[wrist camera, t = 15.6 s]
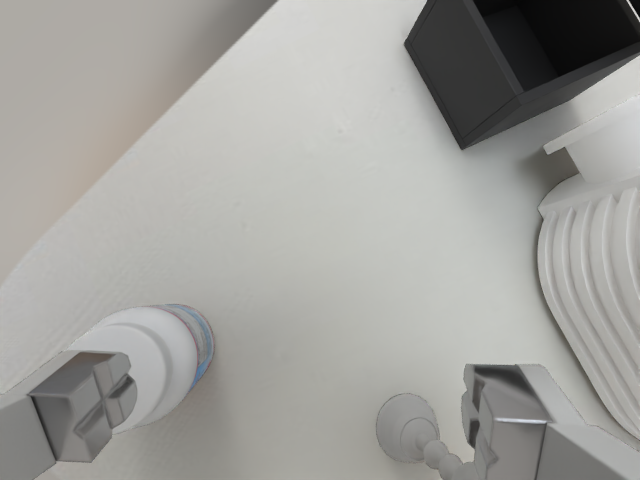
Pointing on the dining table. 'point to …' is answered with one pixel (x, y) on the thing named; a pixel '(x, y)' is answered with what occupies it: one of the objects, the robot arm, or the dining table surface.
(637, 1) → the chamber lid
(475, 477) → the chalice
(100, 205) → the dining table surface
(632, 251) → the housing
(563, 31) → the box
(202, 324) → the pill bottle
